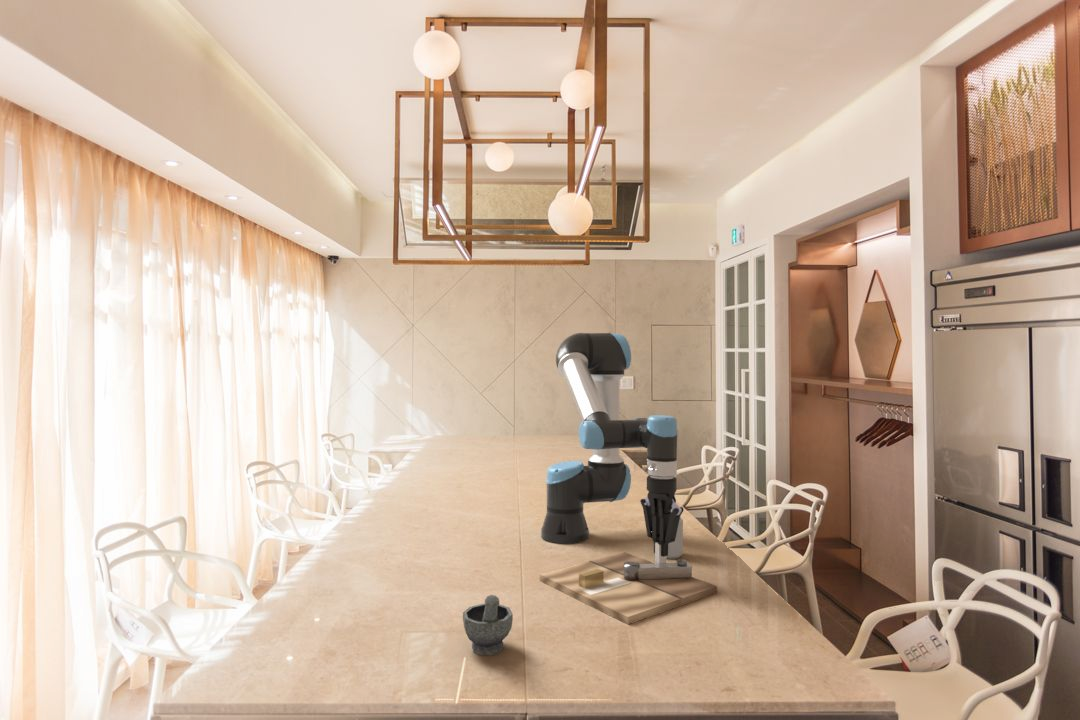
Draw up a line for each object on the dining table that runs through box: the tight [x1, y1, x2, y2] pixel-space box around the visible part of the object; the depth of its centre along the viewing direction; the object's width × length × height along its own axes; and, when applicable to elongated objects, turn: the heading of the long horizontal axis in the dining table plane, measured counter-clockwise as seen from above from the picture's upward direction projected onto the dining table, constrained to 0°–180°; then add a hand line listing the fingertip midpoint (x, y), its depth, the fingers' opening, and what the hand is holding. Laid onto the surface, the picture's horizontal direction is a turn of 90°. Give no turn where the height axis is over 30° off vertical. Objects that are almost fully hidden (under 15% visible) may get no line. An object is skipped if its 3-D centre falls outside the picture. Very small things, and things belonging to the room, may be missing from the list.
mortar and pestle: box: [462, 594, 514, 656], centre depth 121 cm, size 11×9×12 cm
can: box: [666, 512, 684, 560], centre depth 178 cm, size 8×8×12 cm
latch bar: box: [624, 558, 693, 581], centre depth 156 cm, size 17×4×4 cm, turn 96°
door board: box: [539, 551, 718, 625], centre depth 154 cm, size 32×30×5 cm
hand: (660, 567), depth 159 cm, fingers closed
